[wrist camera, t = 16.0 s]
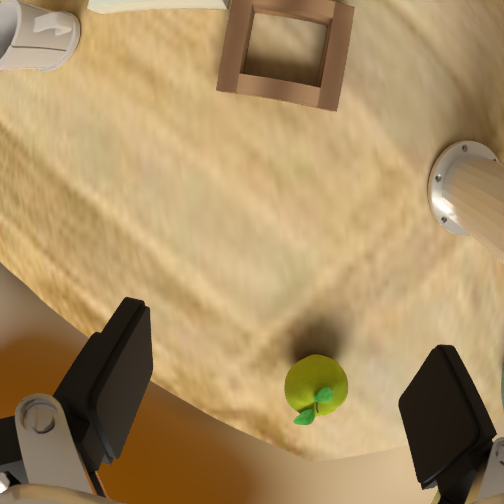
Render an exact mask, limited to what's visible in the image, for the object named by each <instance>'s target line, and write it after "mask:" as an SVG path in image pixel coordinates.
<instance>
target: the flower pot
mask: <svg viewBox="0 0 504 504" xmlns="http://www.w3.org/2000/svg"><path fill="white" fill-rule="evenodd" d="M501 394H502V403H503V409H504V366H503V371H502V381H501Z"/></svg>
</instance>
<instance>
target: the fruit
mask: <svg viewBox="0 0 504 504" xmlns="http://www.w3.org/2000/svg"><path fill="white" fill-rule="evenodd" d="M347 394H348V381H347V377H346V374H345V372H344V370H343V369H342V367H341V366H340V365H339V364H338V363H337V362H336V361H335V360H333V359H331V358H329V357H326V356H323V355H319V354H313V355H310V356H308V357H306V358H304V359H302V360H300V361H298V362H297V363H295V364H294V365H293V366H292V367H291V369H290V370H289V372H288V374H287V376H286V379H285V396H286V399H287V402H288V403H289V405H290V406H291V407H292V408H293V409H295V410H296V411H298V412H299V413H300V415H299V416H298V417H297V418H296V419H295V420H294V421H293V422H294V423H295V424H300V425H308V424H311V423H312V422H313V420H314V418H315V417H317V416H321V415H328V414H330V413H332V412H333V411H334V410H335V409H336V408H338V407H339V406H340V405H341V404H342V403H343V402H344V401H345V399H346V397H347Z"/></svg>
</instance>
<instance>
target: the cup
mask: <svg viewBox="0 0 504 504" xmlns="http://www.w3.org/2000/svg"><path fill="white" fill-rule="evenodd" d="M79 37H80V24H79V21H78V19H77V17H75V16H74V15H73V14H72V13H69V12H65V11H56V12H54V11H51V10H47V9H44V8H41V7H38V6H35V5H32V4H29V3H27V2H24V1H21V0H2V1H0V71H3V70H12V69H25V68H34V69H36V70H39V71H54V70H56V69H58V68H60V67H61V66H63V65H64V64H65V63H66V62H67V61H68V60H69V59H70V57H71V56H72V55H73V53H74V51H75V49H76V47H77V45H78V42H79Z"/></svg>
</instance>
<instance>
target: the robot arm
mask: <svg viewBox="0 0 504 504" xmlns="http://www.w3.org/2000/svg"><path fill="white" fill-rule="evenodd" d="M436 176H437V177H436ZM428 199H429V205H430V208H431V211H432V214H433V215H434V217H435V219H436V221H437V222H438V223H439V224H440V225H441V226H442V227H443V228H444V229H446V230H447V231H449V232H450V233H452V234H456V235H462V236H466V235H471V236H472V237H473V238H475V239H476V240H477V241H478V242H479V243H480V244H482V245H483V246H484V247H485V248H486V249H487V250H488V251H490V252H491V253H492V254H493V255H494V256H495V257H496V258H497V259H498V260H499V261H501V262H502V263H503V264H504V164H502V163H499V160H498V159H497V157H496V156H495V154H494V153H493V152H492V151H491V150H490V149H489V148H488V147H487V146H485V145H483V144H481V143H478V142H475V141H470V140H464V141H459V142H456V143H454V144H452V145H450V146H449V147H447V148H446V149H445V150H444V151H443V152H442V153H441V154H440V156H439V157H438V158H437V160H436V162H435V164H434V166H433V168H432V171H431V174H430V177H429V183H428ZM152 372H153V357H152V342H151V323H150V308H149V307H147V306H145V303H144V301H142V300H138V299H134V298H129V297H125V298H124V299H123V301H122V302H121V304H120V305H119V307H118V308H117V310H116V311H115V313H114V314H113V316H112V317H111V318H110V320H109V321H108V323H107V324H106V326H105V327H104V329H103V331H102V332H101V333H99V332H95V333H93V334H92V336H91V337H90V338H89V340H88V341H87V343H86V344H85V346H84V347H83V349H82V350H81V352H80V353H79V355H78V356H77V358H76V360H75V361H74V363H73V364H72V366H71V367H70V369H69V371H68V372H67V374H66V375H65V377H64V378H63V380H62V382H61V383H60V385H59V387H58V388H57V390H56V391H55V393H54V395H53V396H52V397H51V396H49V395H46V394H33V395H30V396H27V397H26V398H25V399H23V400H22V401H21V402H20V403H19V405H18V406H17V409H16V411H15V416H11V417H7V418H3V419H0V504H125V503H121V502H117V501H114V500H111V499H109V498H108V496H107V494H106V492H105V490H104V488H103V486H102V484H101V481H100V479H99V477H98V475H97V472H96V471H97V470H99V467H100V465H101V462H104V463H107V464H110V465H111V463H112V461H113V458H116V459H118V458H119V457H120V455H121V452H122V450H123V447H124V444H125V441H126V439H127V436H128V434H129V431H130V429H131V426H132V423H133V421H134V418H135V416H136V413H137V411H138V408H139V405H140V403H141V400H142V397H143V395H144V393H145V390H146V388H147V385H148V383H149V381H150V378H151V375H152ZM399 410H400V413H401V417H402V420H403V424H404V428H405V431H406V435H407V439H408V443H409V446H410V451H411V455H412V459H413V463H414V467H415V472H416V476H417V480H418V482H419V483H421V487H422V490H424V489H429V488H434V487H435V486H437V485H438V491H437V493H436V495H435V497H434V499H433V501H432V503H431V504H504V437H500V438H498V439H496V440H495V441H494V442H492V439H493V438H494V437H495V436H496V435H497V433H496V430H495V428H494V426H493V423H492V421H491V419H490V417H489V414H488V412H487V410H486V408H485V406H484V403H483V401H482V399H481V397H480V395H479V393H478V391H477V389H476V387H475V385H474V383H473V381H472V379H471V377H470V375H469V373H468V371H467V369H466V367H465V365H464V364H463V362H462V360H461V358H460V356H459V354H458V352H457V351H456V349H455V347H454V346H452V345H437V346H436V347H435V349H432V351H431V352H430V354H429V355H428V357H427V358H426V360H425V362H424V363H423V365H422V366H421V368H420V369H419V371H418V372H417V374H416V375H415V377H414V378H413V380H412V381H411V383H410V384H409V386H408V387H407V388H406V390H405V391H404V393H403V394H402V395H401V397H400V399H399Z"/></svg>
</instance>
